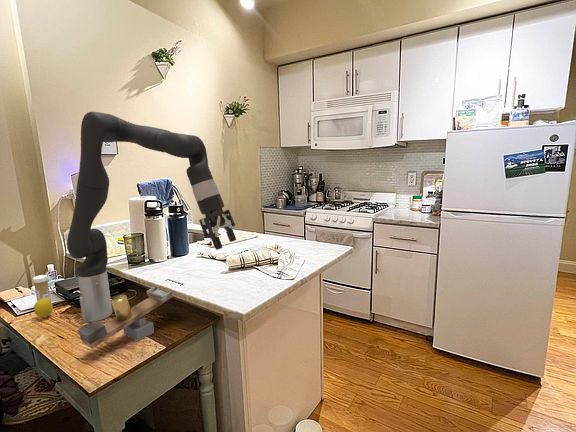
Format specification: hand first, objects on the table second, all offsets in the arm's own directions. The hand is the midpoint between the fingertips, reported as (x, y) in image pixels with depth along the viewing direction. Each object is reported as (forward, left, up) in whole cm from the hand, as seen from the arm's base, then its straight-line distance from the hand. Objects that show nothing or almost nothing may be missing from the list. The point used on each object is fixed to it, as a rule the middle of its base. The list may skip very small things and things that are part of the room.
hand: (226, 244), depth 98 cm
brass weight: (-31, +13, -23) cm, 41 cm away
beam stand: (-28, +15, -31) cm, 44 cm away
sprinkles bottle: (-62, +54, -31) cm, 88 cm away
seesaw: (-28, +15, -24) cm, 40 cm away
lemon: (-60, +44, -31) cm, 80 cm away
